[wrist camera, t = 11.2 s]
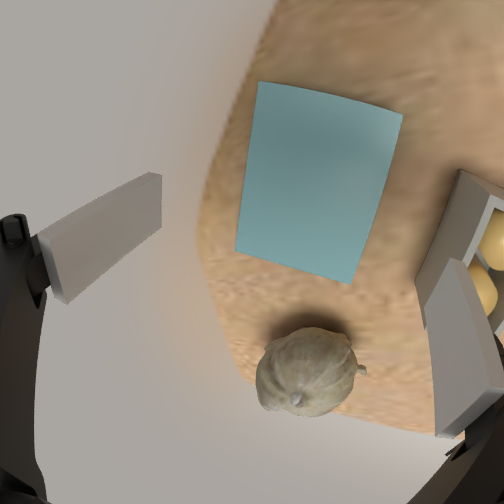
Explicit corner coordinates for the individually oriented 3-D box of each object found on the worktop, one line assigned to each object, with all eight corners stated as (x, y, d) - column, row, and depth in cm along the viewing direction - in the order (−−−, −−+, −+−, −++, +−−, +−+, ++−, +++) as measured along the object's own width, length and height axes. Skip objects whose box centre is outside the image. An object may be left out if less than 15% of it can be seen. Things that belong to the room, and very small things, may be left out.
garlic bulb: (284, 335, 33) (226, 399, 27) (300, 284, 28) (230, 359, 22) (355, 379, 30) (307, 454, 23) (389, 336, 24) (338, 430, 18)
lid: (269, 82, 19) (258, 80, 17) (397, 112, 18) (403, 114, 15) (246, 235, 26) (234, 250, 24) (351, 266, 24) (350, 284, 22)
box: (459, 168, 18) (490, 194, 13) (521, 198, 17) (558, 230, 12) (414, 281, 23) (424, 329, 18) (473, 299, 22) (491, 346, 17)
